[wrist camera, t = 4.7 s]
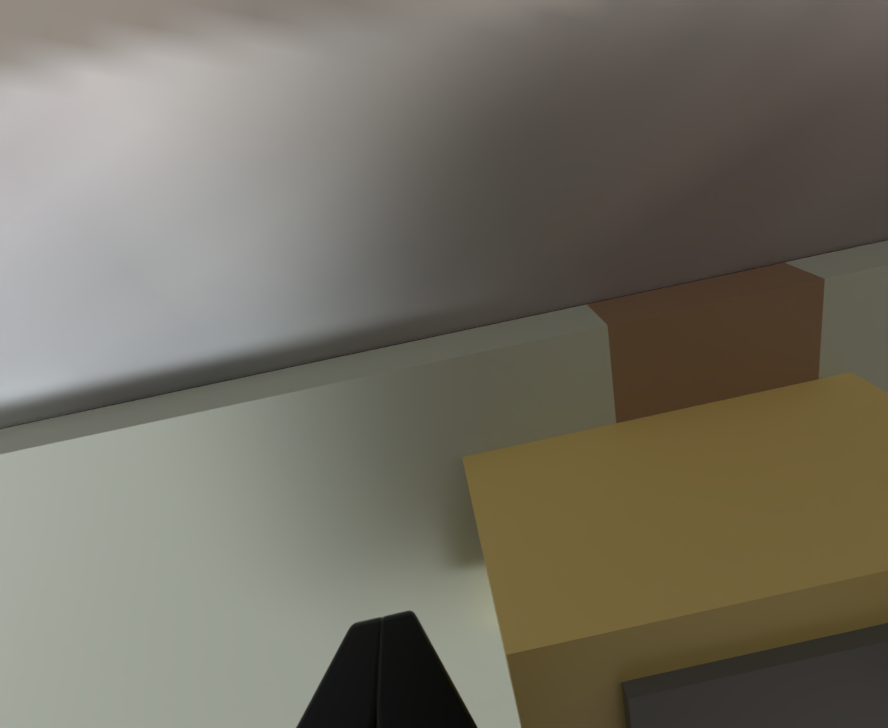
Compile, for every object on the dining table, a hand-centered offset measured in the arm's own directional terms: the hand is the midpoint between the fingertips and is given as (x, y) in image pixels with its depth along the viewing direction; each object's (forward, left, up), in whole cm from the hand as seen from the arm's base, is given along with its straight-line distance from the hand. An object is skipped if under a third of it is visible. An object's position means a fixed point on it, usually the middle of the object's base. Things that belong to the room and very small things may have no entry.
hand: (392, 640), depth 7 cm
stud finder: (-4, -1, -1) cm, 4 cm away
